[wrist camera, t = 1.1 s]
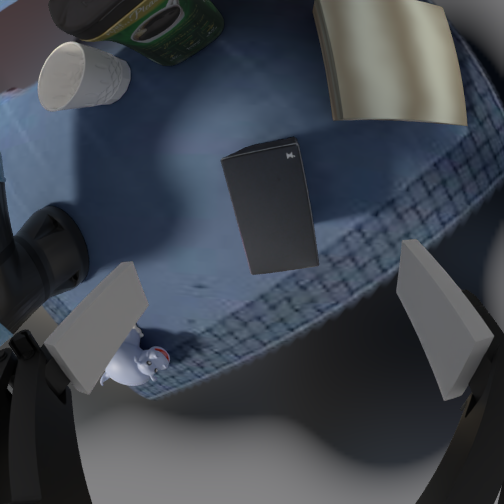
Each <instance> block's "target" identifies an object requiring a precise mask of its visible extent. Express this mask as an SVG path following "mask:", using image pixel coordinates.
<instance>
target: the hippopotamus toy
mask: <svg viewBox="0 0 504 504" xmlns="http://www.w3.org/2000/svg"><path fill="white" fill-rule="evenodd" d="M143 336H144V335H143V333H141V329H140V328H138V327H137V325H136V324H135V325H134V327H133V328H132V330H131V331H130V333H129V334H128V336H127V337H126V339H125V340H124V341H123V343H122V344H121V346H120V347H119V349H118V350H117V352H116V353H115V355H114V356H113V358H112V359H111V361H110V363H109V364H108V366H107V367H106V369H105V371H106V372H105V373H104V374H103V376H102V377H101V380H100V382H101V385H102V386H103V384H102V383H103V382H104V381H106V380H107V379H108V378H112V379H113V380H115V381H116V382H119V383H121V384H125V385H130V386H136V385H141V384H143V383H145V382H147V381H148V380H149V379H150V378H151V379H152V380H153V381H156V380H157V377H154V376H153V374H154V373H155V372H157V370H158V369H166V368H167V367H168V365H169V362H170V356H169V354H168V352H167V351H166V350H165V349H163V348H161V347H158V346H154V347H152V348H150V349H149V350H142V349H141V348H140V347H139V346H140V338H141V337H143Z"/></svg>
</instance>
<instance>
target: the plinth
mask: <svg viewBox="0 0 504 504" xmlns="http://www.w3.org/2000/svg"><path fill="white" fill-rule="evenodd" d="M313 15H314V20H315V24H316V28H317V32H318V37H319V41H320V46H321V51H322V56H323V61H324V66H325V71H326V77H327V83H328V89H329V96H330V102H331V110H332V117H333V121H337V120H395V121H414V122H427V123H437V124H451V125H463V126H467V116H466V106H465V98H464V91H463V85H462V79H461V73H460V68H459V63H458V59H457V54H456V50H455V46H454V42H453V39H452V35H451V32H450V28H449V25H448V22H447V19H446V16H445V13H444V10H443V8H442V7H439V6H436V5H432V4H429V3H425V2H421V1H417V0H315V1H314V6H313Z"/></svg>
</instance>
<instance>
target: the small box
mask: <svg viewBox="0 0 504 504" xmlns="http://www.w3.org/2000/svg"><path fill="white" fill-rule="evenodd" d="M221 164H222V167H223V171H224V175H225V178H226V182H227V186H228V190H229V193H230V197H231V201H232V204H233V208H234V212H235V216H236V219H237V223H238V227H239V231H240V234H241V238H242V242H243V246H244V250H245V253H246V257H247V261H248V265H249V269H250V272H251V274H252V275H256V274H266V273H273V272H282V271H287V270H295V269H302V268H309V267H315V266H319V259H318V251H317V244H316V237H315V230H314V223H313V217H312V211H311V205H310V199H309V193H308V188H307V182H306V177H305V172H304V166H303V162H302V157H301V152H300V147H299V144H298V142H297V138H295V137H290V138H287V139H281V140H277V141H273V142H266V143H262V144H255V145H252V146H249V147H245V148H243V149H241V150H239V151H237V152H235V153H233V154H230V155H229V156H227V157H224V158H222V159H221Z"/></svg>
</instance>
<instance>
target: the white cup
mask: <svg viewBox="0 0 504 504" xmlns="http://www.w3.org/2000/svg"><path fill="white" fill-rule="evenodd" d="M130 80H131V69H130V67H129V66H128V64H127V62H126V61H124V60H122V59H120V58H118V57H115V56H113V55H112V54H109V53H107V52H104V51H101V50H99V49H96V48H93V47H90V46H86V45H83V44H80V43H76V42H66V43H64V44H62V45H60V46H59V47H57V48H56V49H55V50H54V51H53V52H52V53H51V55H50V56H49V57H48V58H47V60H46V62H45V63H44V66H43V68H42V70H41V73H40V76H39V81H38V97H39V100H40V103H41V105H42V106H43V107H44V108H45V109H46V110H48V111H60V110H68V109H76V108H84V107H92V106H97V105H106V104H112V103H114V102H115V101H117V100H119V99H120V98H121V97H122V95H123V94H124V93H125V92H126V91H127V88H128V85H129V83H130Z"/></svg>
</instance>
